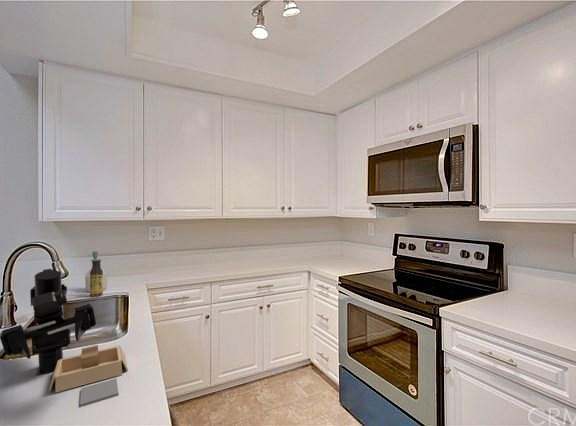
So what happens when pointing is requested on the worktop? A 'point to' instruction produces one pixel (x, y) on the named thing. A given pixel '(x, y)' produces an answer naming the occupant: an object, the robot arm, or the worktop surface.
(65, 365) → the carton
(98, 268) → the sauce bottle
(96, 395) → the mat
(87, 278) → the soap bottle
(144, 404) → the worktop surface
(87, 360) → the block
